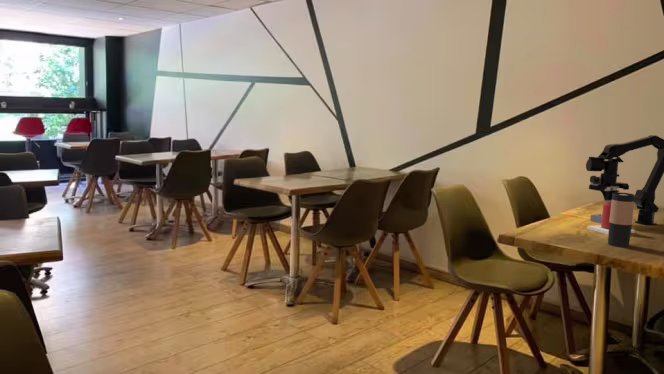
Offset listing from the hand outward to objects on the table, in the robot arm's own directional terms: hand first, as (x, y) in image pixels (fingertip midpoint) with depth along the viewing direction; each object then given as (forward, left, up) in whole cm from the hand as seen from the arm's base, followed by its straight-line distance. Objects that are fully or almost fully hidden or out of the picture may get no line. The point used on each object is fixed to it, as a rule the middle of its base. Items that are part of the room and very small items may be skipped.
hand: (607, 204), depth 238 cm
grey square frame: (0, 0, -9) cm, 9 cm away
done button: (0, 0, -7) cm, 7 cm away
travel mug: (+31, +35, -9) cm, 48 cm away
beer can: (+14, +15, -7) cm, 22 cm away
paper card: (+13, +15, -9) cm, 22 cm away
